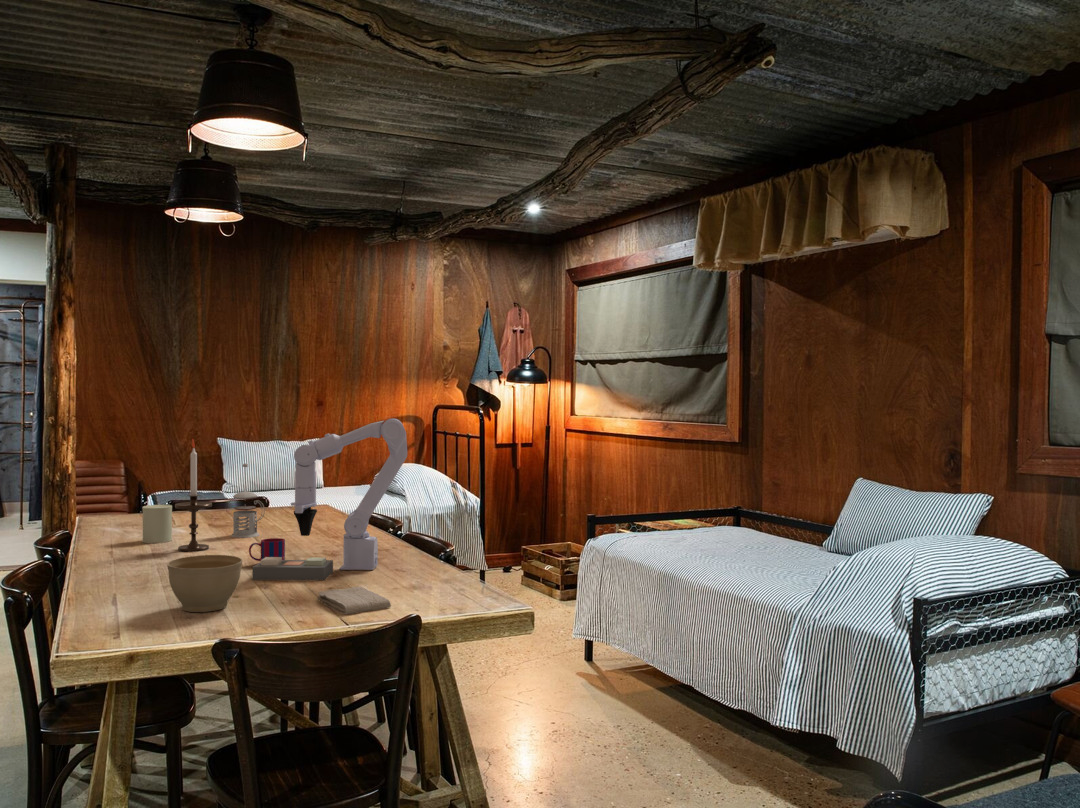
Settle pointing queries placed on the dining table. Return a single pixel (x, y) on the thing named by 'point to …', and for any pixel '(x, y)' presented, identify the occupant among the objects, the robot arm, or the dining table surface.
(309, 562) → the sage key
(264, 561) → the cream key
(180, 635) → the dining table surface
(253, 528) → the french press
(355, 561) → the robot arm
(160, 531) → the can
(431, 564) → the dining table surface
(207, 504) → the candlestick
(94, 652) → the dining table surface
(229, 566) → the planter bowl
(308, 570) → the key panel
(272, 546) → the mug
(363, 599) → the washcloth
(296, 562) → the terracotta key
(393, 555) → the dining table surface
